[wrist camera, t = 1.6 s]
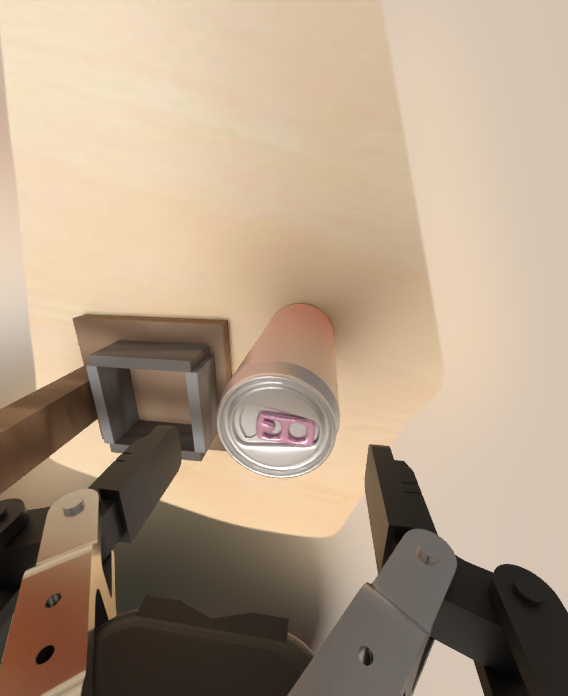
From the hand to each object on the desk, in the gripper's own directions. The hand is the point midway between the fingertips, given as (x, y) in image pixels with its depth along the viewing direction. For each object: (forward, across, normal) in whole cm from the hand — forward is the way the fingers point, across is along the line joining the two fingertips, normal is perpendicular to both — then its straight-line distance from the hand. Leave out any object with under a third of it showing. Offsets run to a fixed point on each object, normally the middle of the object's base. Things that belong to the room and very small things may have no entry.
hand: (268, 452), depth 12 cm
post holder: (+16, +14, +6) cm, 23 cm away
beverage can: (+17, 0, 0) cm, 17 cm away
